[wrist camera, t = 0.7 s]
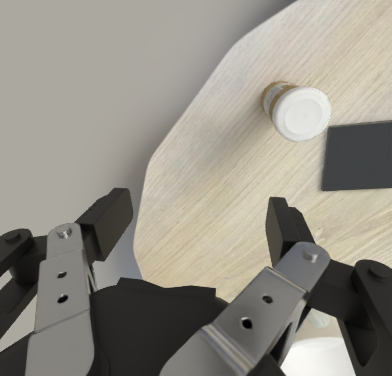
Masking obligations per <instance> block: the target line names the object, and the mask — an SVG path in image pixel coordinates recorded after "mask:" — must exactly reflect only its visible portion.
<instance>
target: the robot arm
mask: <svg viewBox="0 0 392 376" xmlns="http://www.w3.org/2000/svg"><path fill="white" fill-rule="evenodd" d="M132 218H133V207H132V202H131V196H130V191H129V189H127V188H114V189H113V190H112V191H111V192H110V193H109V194H108V195H107V196H104V197H102V198H100V199H98V200H97V201H96V202H95V203H94V204H93V205H92V206H91V207H90V208H89V209H88V210H87V211H86V212H84V213H83V214H82V215H81V216H80V217H79V218H78V219H77V220H76V221H75V222H74V223H66V224H62V225H60V226H57V227H56V228H54V229H52V230H51V231H50V232H49V234H48V235H46V236H38V237H33V236H32V233H31V231H30V230H28V229H17V230H13V231H10V232H7V233H5V234H3V235H2V236H0V277H1V276H2V275H3V274H4V273H5V272H6V271H7V270H9V271H10V273H11V275H12V277H13V278H12V279H11V280H10V281H9V282H8V283H7V284H6V285H5V286H4V287H3V288H2V289H1V290H0V339H1V338H2V336H3V335H4V334H5V333H6V331H7V330H8V329H9V328H10V327H11V325H12V324H13V323H14V322H15V320H16V319H17V318H18V317H19V315H20V314H21V312H23V310H24V309H25V308H26V307H27V305H28V304H29V303H30V301H31V300H32V299H33V298H34V297H35V295H36V294H37V304H36V316H35V328H34V331H32V332H31V333H29V334H28V335H26V336H25V337H23V338H22V339H20V340H19V341H17V342H15V343H14V344H12V345H11V346H9V347H8V348H6V349H4V350H3V351H1V352H0V376H286V375H285V373H284V372H283V371H282V369H281V368H280V367H281V365H282V364H283V362H284V360H285V358H286V356H287V354H288V352H289V350H290V348H291V346H292V344H293V342H294V340H295V338H296V336H297V335H298V333H299V331H300V330H301V328H302V326H303V325H304V323H305V321H306V320H307V318H308V316H309V315H310V313H311V312H312V310H313V309H315V310H318V311H320V312H323V313H325V314H328V315H330V316H333V317H335V318H336V319H337V322H338V325H339V328H340V331H341V334H342V337H343V340H344V343H345V346H346V349H347V352H348V354H349V357H350V360H351V363H352V366H353V369H354V372H355V375H356V376H392V269H391V268H390V267H388V266H386V265H384V264H382V263H380V262H377V261H373V260H366V259H365V260H360V261H358V262H356V264H355V266H354V267H353V266H350V265H347V264H343V263H340V262H337V261H334V260H332V259H330V256H329V254H328V252H327V251H326V250H325V249H323V248H322V247H320V246H319V245H316V243H315V241H314V239H313V237H312V235H311V232H310V230H309V228H308V226H307V224H306V222H305V219H304V217H303V215H302V213H301V212H300V211H299V210H297V209H296V208H295V207H288V204H287V202H286V199H285V198H283V197H270V198H269V203H268V210H267V216H266V226H265V227H266V236H267V241H268V246H269V251H270V257H271V262H272V267H273V268H270V267H268V266H267V267H265V268H264V269H263V270H262V271H261V272H260V273H259V274H258V275H257V276H256V277H255V278H254V279H253V280H252V281H251V282H250V283H249V284H248V285H247V287H246V288H245V289H244V290H243V291H242V292H241V293H240V294H239V295H238V296H237V297H236V298H235V299H234V300H233V301H232V302H231V303H230V304H229V303H228V302H226V301H225V300H223V299H221V298H218V297H216V288H209V287H200V286H182V287H173V288H163V287H160V286H158V285H155V284H152V283H150V282H147V281H144V280H139V279H130V278H122V277H121V278H120V279H119V281H118V283H117V285H114V286H109V287H106V288H103V289H100V290H98V289H97V284H96V278H95V273H94V268H93V265H92V263H93V262H94V261H105V260H106V258H107V257H108V255H109V254H110V252H111V251H112V249H113V248H114V246H115V245H116V243H117V242H118V240H119V239H120V237H121V236H122V234H123V233H124V231H125V230H126V228H127V227H128V225H129V224H130V222H131V221H132Z"/></svg>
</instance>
